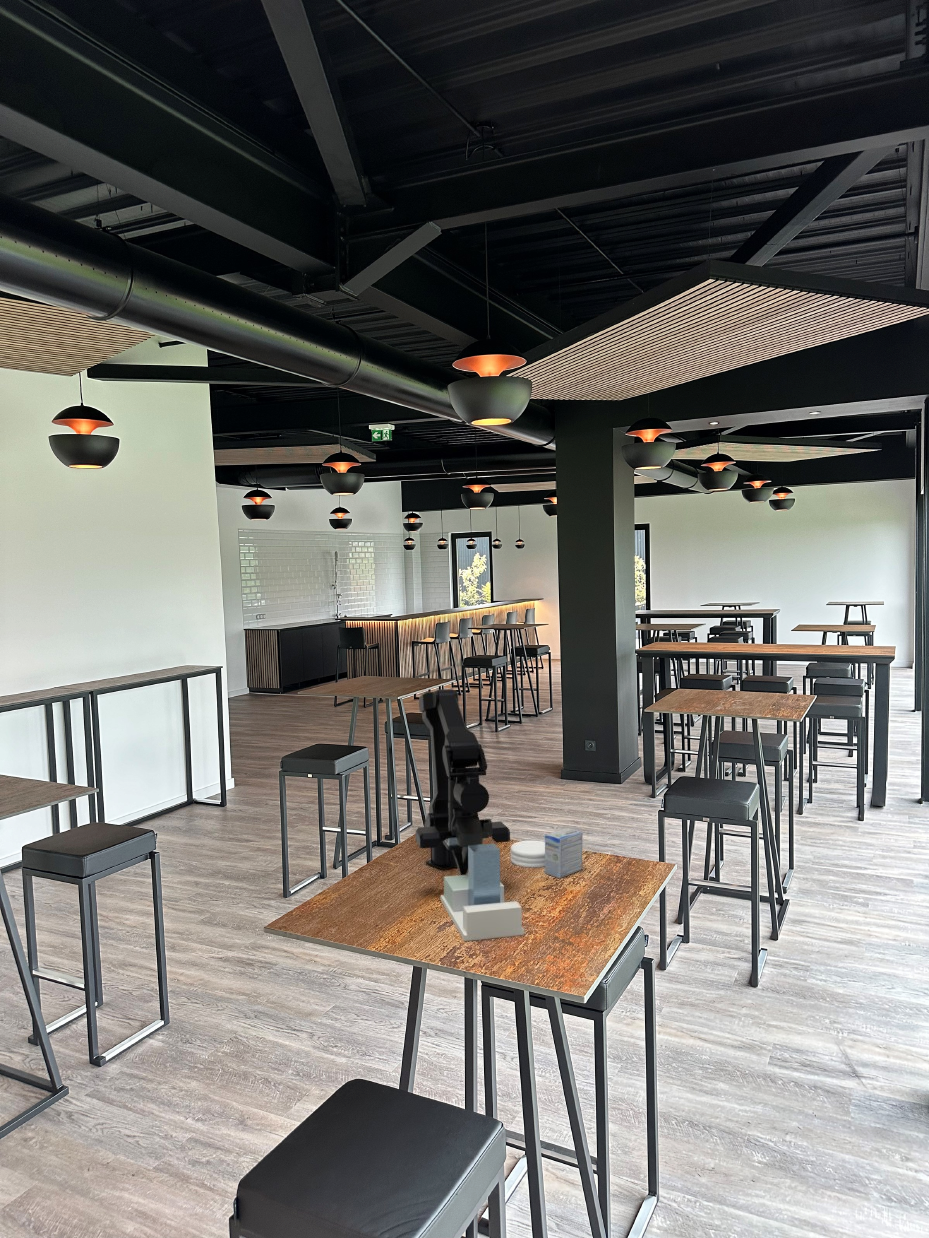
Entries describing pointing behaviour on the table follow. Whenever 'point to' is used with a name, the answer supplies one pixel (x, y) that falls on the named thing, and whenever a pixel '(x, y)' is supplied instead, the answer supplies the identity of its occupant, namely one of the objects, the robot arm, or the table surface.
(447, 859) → the robot arm
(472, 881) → the slate-blue block
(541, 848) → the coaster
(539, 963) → the table surface
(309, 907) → the table surface
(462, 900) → the block
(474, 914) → the vise bed
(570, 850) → the medicine box
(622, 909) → the table surface
